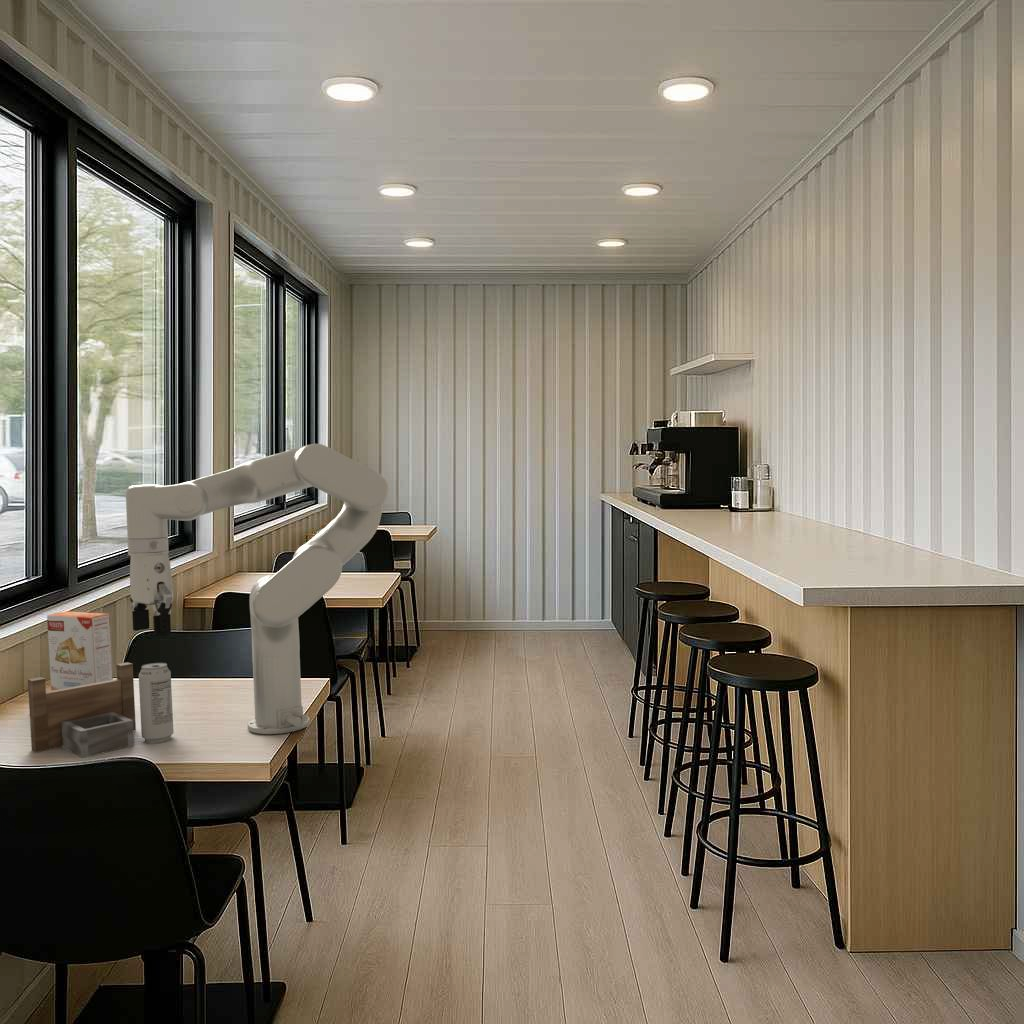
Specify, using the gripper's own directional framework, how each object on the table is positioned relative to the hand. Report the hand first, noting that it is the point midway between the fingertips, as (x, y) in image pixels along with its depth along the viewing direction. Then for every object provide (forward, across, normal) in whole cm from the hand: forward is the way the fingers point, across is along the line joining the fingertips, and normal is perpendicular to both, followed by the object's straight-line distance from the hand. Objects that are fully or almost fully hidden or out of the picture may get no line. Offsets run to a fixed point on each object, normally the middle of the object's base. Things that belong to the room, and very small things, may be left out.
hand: (151, 632), depth 190 cm
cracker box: (+22, +45, -2) cm, 50 cm away
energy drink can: (+22, 0, 0) cm, 22 cm away
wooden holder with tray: (+22, +6, +10) cm, 24 cm away
